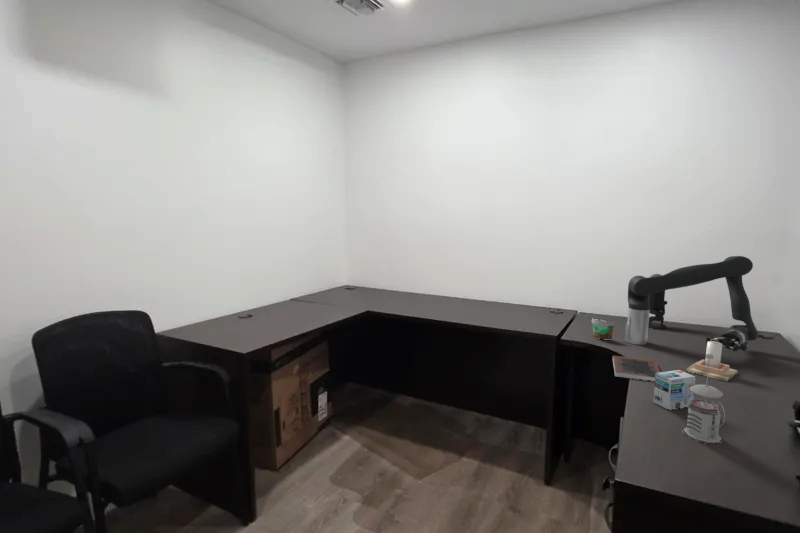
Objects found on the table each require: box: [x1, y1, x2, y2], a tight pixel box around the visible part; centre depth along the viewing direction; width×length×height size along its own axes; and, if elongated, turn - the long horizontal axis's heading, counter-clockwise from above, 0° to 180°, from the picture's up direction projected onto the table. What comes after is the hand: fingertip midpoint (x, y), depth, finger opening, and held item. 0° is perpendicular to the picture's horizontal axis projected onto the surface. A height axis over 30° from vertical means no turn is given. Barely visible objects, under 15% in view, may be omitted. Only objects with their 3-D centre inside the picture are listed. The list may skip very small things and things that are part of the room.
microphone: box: [648, 273, 668, 330], centre depth 247 cm, size 13×12×30 cm
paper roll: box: [704, 341, 723, 369], centre depth 179 cm, size 5×5×11 cm
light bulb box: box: [653, 369, 696, 411], centre depth 150 cm, size 11×7×11 cm, turn 106°
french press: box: [683, 354, 726, 442], centre depth 128 cm, size 10×12×25 cm
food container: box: [591, 316, 616, 340], centre depth 226 cm, size 12×6×10 cm, turn 25°
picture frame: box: [612, 355, 661, 382], centre depth 183 cm, size 16×2×22 cm
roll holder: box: [685, 358, 739, 382], centre depth 180 cm, size 14×14×3 cm
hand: (721, 346), depth 186 cm, fingers open, 8 cm apart
